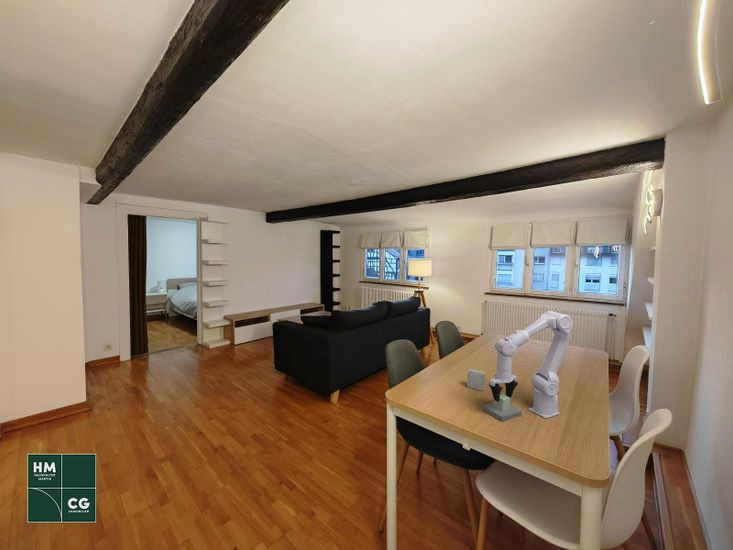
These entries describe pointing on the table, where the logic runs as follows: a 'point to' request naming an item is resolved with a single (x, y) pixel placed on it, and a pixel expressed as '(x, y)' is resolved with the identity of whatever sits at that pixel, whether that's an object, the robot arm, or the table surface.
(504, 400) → the sage cube
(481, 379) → the medicine box
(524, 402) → the table surface
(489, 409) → the slate plinth
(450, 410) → the table surface
